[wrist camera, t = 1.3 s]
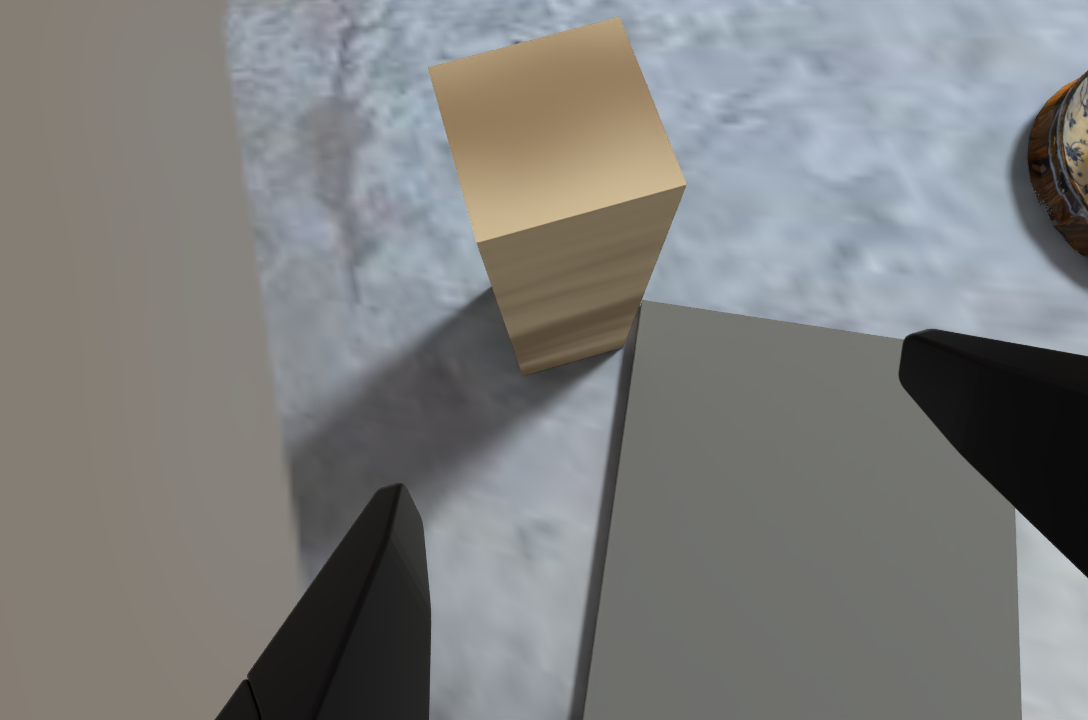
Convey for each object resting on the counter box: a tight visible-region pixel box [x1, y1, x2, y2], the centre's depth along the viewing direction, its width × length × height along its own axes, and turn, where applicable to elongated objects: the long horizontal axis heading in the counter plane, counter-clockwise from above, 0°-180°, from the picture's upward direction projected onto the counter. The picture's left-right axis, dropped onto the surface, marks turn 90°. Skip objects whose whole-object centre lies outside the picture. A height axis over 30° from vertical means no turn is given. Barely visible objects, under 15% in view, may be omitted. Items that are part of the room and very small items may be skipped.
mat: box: [582, 300, 1022, 720], centre depth 21 cm, size 18×15×1 cm
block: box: [428, 17, 687, 376], centre depth 18 cm, size 4×4×12 cm
